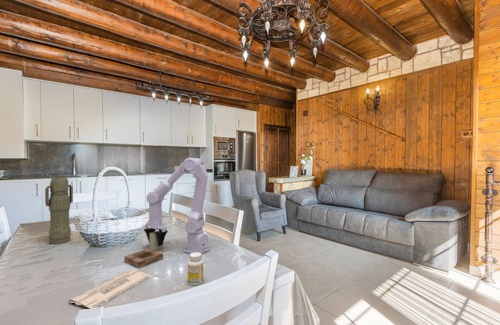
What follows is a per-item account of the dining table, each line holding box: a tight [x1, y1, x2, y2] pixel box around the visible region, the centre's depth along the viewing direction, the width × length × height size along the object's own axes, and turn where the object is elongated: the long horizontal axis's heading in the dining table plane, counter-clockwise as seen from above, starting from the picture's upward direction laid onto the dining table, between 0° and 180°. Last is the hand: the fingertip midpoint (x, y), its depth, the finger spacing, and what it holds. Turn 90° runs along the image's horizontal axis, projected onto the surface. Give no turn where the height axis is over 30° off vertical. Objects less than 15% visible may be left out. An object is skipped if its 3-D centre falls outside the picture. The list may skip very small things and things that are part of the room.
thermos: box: [44, 175, 74, 245], centre depth 127 cm, size 9×12×35 cm
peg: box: [149, 230, 163, 252], centre depth 115 cm, size 4×4×8 cm
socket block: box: [124, 247, 164, 270], centre depth 102 cm, size 11×11×2 cm
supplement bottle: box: [187, 252, 204, 286], centre depth 83 cm, size 5×5×10 cm
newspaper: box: [68, 268, 152, 309], centre depth 79 cm, size 23×12×2 cm, turn 157°
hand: (155, 244), depth 115 cm, fingers open, 7 cm apart
